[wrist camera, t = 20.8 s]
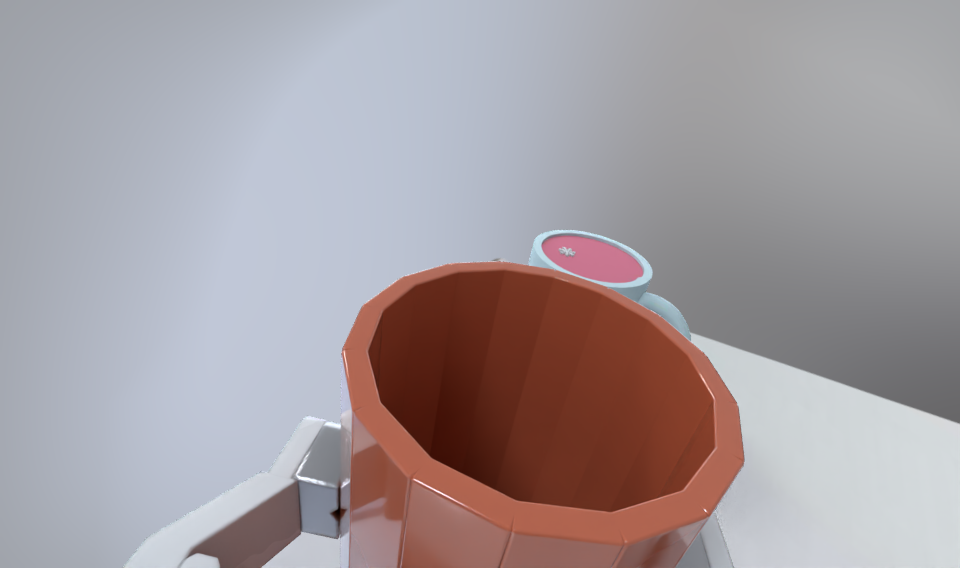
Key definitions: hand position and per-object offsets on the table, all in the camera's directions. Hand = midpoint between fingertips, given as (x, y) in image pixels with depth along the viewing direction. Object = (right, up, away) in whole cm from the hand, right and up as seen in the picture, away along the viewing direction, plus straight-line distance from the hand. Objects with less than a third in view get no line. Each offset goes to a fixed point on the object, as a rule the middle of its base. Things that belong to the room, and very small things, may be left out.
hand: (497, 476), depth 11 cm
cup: (-1, -5, +2) cm, 6 cm away
